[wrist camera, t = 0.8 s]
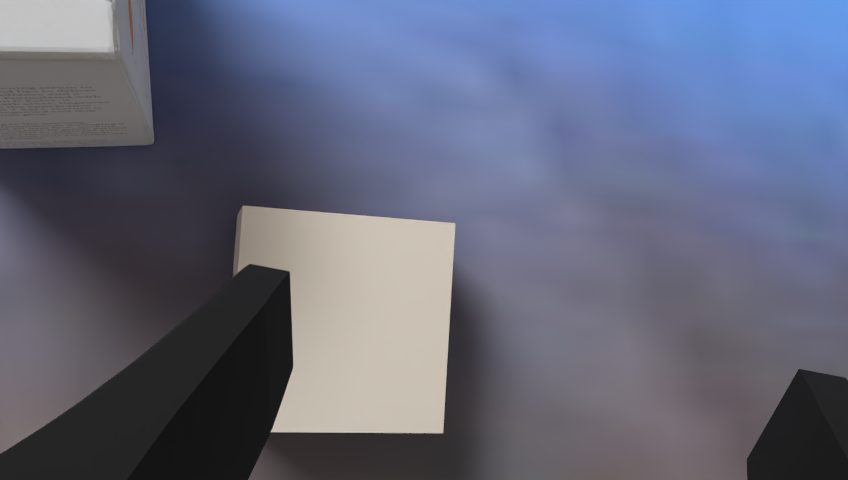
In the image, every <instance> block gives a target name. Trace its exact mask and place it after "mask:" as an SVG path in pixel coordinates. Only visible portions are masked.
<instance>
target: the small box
mask: <svg viewBox="0 0 848 480" xmlns="http://www.w3.org/2000/svg"><path fill="white" fill-rule="evenodd" d="M153 143H154V130H153V116H152V99H151V84H150V70H149V54H148V39H147V23H146V6H145V0H0V149H4V148H53V147H100V146H133V145H151V144H153Z"/></svg>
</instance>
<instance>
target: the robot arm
mask: <svg viewBox="0 0 848 480" xmlns="http://www.w3.org/2000/svg"><path fill="white" fill-rule="evenodd" d="M292 370H293V341H292V315H291V289H290V271H285V270H280V269H275V268H270V267H264V266H259V265H254V264H249V265H247V266H246V267H244V268H243V269H242V270H240V271H239V272H238V273H237V274H236V275H235V276H234V277H233V278H231V279H230V280H229V281H228V282H227V283H226V284H225V285H224V286H222V287H221V288H220V289H219V290H218V291H217V292H216V293H215V294H213V295H212V296H211V297H210V298H209V299H208V300H207V301H206V302H204V303H203V304H202V305H201V306H200V307H199V308H198V309H196V310H195V311H194V312H193V313H192V314H191V315H189V316H188V317H187V318H186V319H185V320H184V321H182V322H181V323H180V324H179V325H178V326H177V327H175V328H174V329H173V330H172V331H170V332H169V333H168V334H167V335H166V336H164V337H163V338H162V339H161V340H159V341H158V342H157V343H156V344H155V345H153V346H152V347H151V348H150V349H149V350H147V351H146V352H145V353H144V354H142V355H141V356H140V357H139V358H137V359H136V360H135V361H134V362H132V363H131V364H130V365H129V366H127V367H126V368H125V369H123V370H122V371H121V372H119V373H118V374H116V375H115V376H114V377H112V378H111V379H110V380H108V381H107V382H106V383H104V384H103V385H102V386H100V387H99V388H98V389H96V390H95V391H94V392H92V393H91V394H90V395H88V396H87V397H86V398H84V399H83V400H82V401H80V402H79V403H77V404H76V405H75V406H73V407H72V408H70V409H69V410H67V411H66V412H64V413H63V414H61V415H60V416H59V417H57V418H56V419H54V420H53V421H51V422H50V423H48V424H47V425H45V426H44V427H42V428H41V429H39V430H38V431H36V432H34V433H33V434H31V435H30V436H28V437H27V438H25V439H23V440H22V441H20V442H19V443H17V444H16V445H14V446H13V447H11V448H9V449H8V450H6V451H4V452H3V453H1V454H0V480H248V478H249V476H250V474H251V472H252V470H253V468H254V466H255V464H256V462H257V460H258V458H259V455H260V453H261V451H262V449H263V447H264V445H265V443H266V441H267V439H268V437H269V434H270V432H271V430H272V428H273V425H274V422H275V419H276V417H277V414H278V411H279V408H280V405H281V403H282V400H283V397H284V394H285V391H286V388H287V385H288V382H289V379H290V376H291V373H292ZM747 477H748V480H848V381H847V379H846V378H843V377H838V376H833V375H828V374H823V373H817V372H812V371H807V370H802V369H799V370H798V372H797V373H796V375H795V377H794V378H793V380H792V382H791V384H790V385H789V387H788V389H787V391H786V392H785V394H784V396H783V398H782V399H781V401H780V403H779V405H778V406H777V408H776V410H775V411H774V413H773V415H772V417H771V418H770V420H769V422H768V424H767V425H766V427H765V429H764V431H763V432H762V434H761V436H760V438H759V439H758V441H757V443H756V445H755V446H754V448H753V450H752V451H751V453H750V455H749V457H748V458H747Z"/></svg>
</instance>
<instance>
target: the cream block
mask: <svg viewBox="0 0 848 480" xmlns="http://www.w3.org/2000/svg"><path fill="white" fill-rule="evenodd" d="M454 237H455V223H445V222H433V221H421V220H409V219H397V218H385V217H373V216H361V215H349V214H338V213H326V212H314V211H302V210H290V209H278V208H266V207H254V206H242V208H241V210H240V211H239V213H238V215H237V224H236V238H235V251H234V265H233V277H234V276H235V275H236V274H237V273H238V272H239V271H240V270H242V269H243V268H244V267H246V266H247V265H249V264H254V265H259V266H264V267H270V268H275V269H280V270H285V271H290V289H291V315H292V341H293V370H292V373H291V376H290V379H289V382H288V385H287V388H286V391H285V394H284V397H283V400H282V403H281V405H280V408H279V411H278V414H277V417H276V419H275V422H274V425H273V428H272V430H271V432H311V433H443V427H444V410H445V393H446V375H447V358H448V341H449V324H450V306H451V289H452V272H453V255H454Z"/></svg>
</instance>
